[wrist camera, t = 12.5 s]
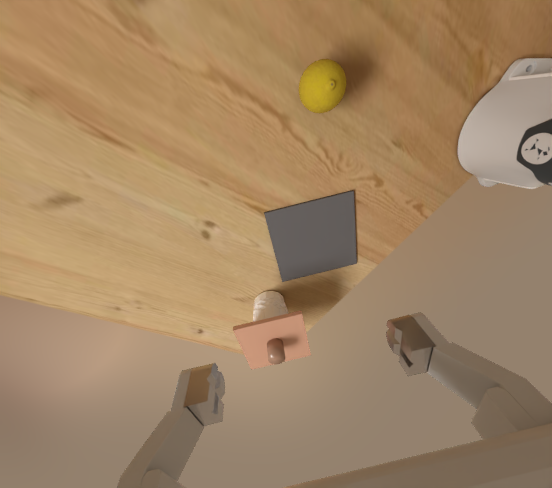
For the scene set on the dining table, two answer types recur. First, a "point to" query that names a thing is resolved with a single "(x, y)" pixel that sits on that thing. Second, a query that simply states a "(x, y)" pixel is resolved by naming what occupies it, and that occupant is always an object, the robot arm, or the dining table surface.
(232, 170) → the dining table surface
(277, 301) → the white cup
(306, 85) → the lemon
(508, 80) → the robot arm
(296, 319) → the lid
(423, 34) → the dining table surface
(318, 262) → the mat
